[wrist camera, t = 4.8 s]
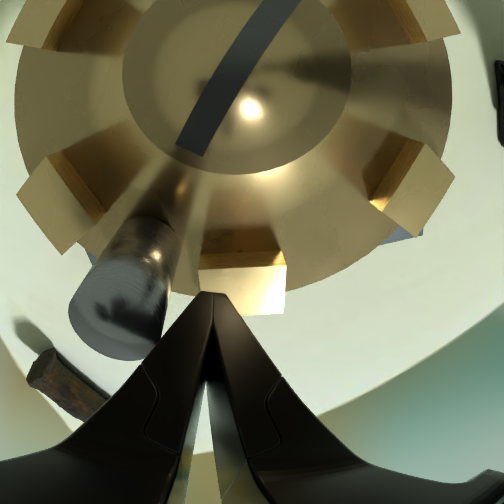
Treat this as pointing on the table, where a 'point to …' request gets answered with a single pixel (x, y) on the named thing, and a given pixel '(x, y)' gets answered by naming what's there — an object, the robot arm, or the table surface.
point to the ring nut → (225, 145)
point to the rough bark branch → (63, 386)
